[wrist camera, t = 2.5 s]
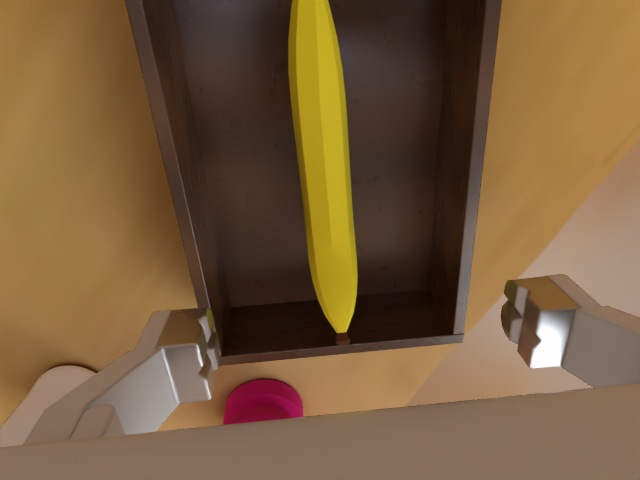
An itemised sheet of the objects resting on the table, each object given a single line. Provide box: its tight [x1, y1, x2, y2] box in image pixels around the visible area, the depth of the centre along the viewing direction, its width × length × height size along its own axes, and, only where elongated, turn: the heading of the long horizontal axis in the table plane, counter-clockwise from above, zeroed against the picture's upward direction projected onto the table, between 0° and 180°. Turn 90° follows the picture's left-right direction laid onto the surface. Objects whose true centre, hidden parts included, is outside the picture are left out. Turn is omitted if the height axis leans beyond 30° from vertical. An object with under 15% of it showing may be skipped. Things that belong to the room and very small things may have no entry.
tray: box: [125, 0, 502, 366], centre depth 24 cm, size 22×15×6 cm
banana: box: [288, 0, 358, 346], centre depth 23 cm, size 3×19×6 cm, turn 6°
